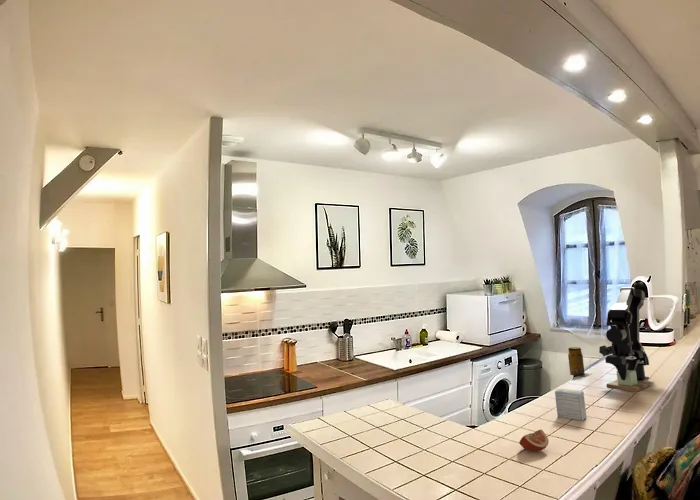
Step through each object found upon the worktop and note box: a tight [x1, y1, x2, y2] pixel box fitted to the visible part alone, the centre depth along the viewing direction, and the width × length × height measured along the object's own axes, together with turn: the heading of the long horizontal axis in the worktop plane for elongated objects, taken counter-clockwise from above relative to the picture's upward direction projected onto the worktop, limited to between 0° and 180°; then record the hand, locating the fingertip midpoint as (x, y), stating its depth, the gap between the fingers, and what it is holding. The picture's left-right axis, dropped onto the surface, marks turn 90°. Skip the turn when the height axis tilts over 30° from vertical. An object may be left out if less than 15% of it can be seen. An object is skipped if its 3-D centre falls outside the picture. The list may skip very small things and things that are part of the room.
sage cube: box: [616, 370, 638, 386], centre depth 175 cm, size 5×5×5 cm
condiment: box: [567, 346, 593, 377], centre depth 201 cm, size 7×8×12 cm
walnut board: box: [606, 379, 650, 392], centre depth 175 cm, size 11×11×1 cm
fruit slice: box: [518, 428, 550, 453], centre depth 120 cm, size 8×7×5 cm
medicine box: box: [554, 388, 587, 422], centre depth 144 cm, size 8×4×9 cm, turn 47°
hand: (626, 378), depth 175 cm, fingers open, 6 cm apart
